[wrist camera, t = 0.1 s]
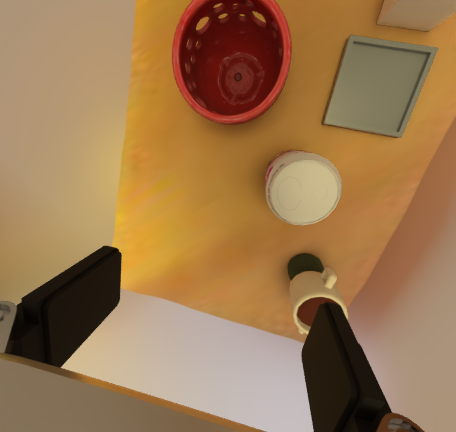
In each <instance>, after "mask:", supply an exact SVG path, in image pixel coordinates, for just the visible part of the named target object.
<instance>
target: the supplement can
mask: <svg viewBox="0 0 456 432" xmlns="http://www.w3.org/2000/svg"><path fill="white" fill-rule="evenodd" d="M341 190H342V181H341V178H340V175H339V172H338V170H337V169H336V167H335V166H334V165H333V164H332V163H331V162H330V160H328V159H326V158H324V157H322V156H320V155H318V154H314V153H310V152H305V151H300V150H287V151H283V152H281V153H279V154H278V155H276V156H275V157H274V158H273V159H272V160H271V162H270V163H269V164H268V167H267V170H266V200H267V202H268V205H269V207H270V209H271V211H272V212H273V213H274V214H275V215H276V216H277V217H278V218H279V219H281V220H283V221H285V222H287V223H289V224H294V225H301V226H303V225H309V224H314V223H316V222H318V221H320V220H322V219H324V218H326V217H327V216H328V215H329V214H330V213H331V212H332V211H333V210H334V209H335V208H336V206H337V204H338V201H339V199H340V197H341Z"/></svg>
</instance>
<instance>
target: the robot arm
mask: <svg viewBox="0 0 456 432" xmlns="http://www.w3.org/2000/svg"><path fill="white" fill-rule="evenodd" d="M121 256H122V255H121V253H120V252H119V250H118V249H117V248H114V247H110V246H103V247H102V248H100V249H98V250H97V251H95V252H94V253H92V254H90V255H89V256H87V257H86V258H84V259H83V260H81V261H79V262H78V263H76V264H75V265H73V266H72V267H70V268H69V269H67V270H65V271H64V272H62V273H61V274H59V275H58V276H56V277H54V278H53V279H51V280H50V281H48V282H46V283H45V284H43V285H42V286H40V287H38V288H37V289H35V290H34V291H32V292H31V293H29V294H28V295H26V296H24V297H23V298H22V302H21V303H20V304H18V305H17V306H16V305H15V304H14V303H12V302H9V301H0V432H265V431H262V430H259V429H256V428H253V427H249V426H247V425H243V424H240V423H237V422H234V421H231V420H228V419H225V418H221V417H218V416H215V415H212V414H209V413H205V412H202V411H199V410H196V409H193V408H189V407H186V406H183V405H180V404H177V403H173V402H170V401H167V400H164V399H160V398H157V397H154V396H151V395H147V394H144V393H141V392H137V391H135V390H132V389H128V388H125V387H122V386H118V385H115V384H112V383H109V382H105V381H102V380H99V379H95V378H92V377H88V376H85V375H82V374H79V373H76V372H72V371H69V370H66V369H62V368H60V367H61V366H62V365H63V364H64V363H65V362H66V361H67V360H68V359H69V358H70V357H71V356H72V354H73V353H74V352H75V351H76V350H77V349H78V348H79V347H80V346H81V345H82V343H83V342H84V341H85V340H86V339H87V338H88V337H89V336H90V335H91V334H92V333H93V331H94V330H95V329H96V328H97V327H98V326H99V325H100V324H101V323H102V321H104V319H105V318H106V317H107V316H108V315H109V314H110V313H111V312H112V311H113V309H115V307H116V306H117V305H118V303H119V300H120V282H121ZM302 363H303V369H304V375H305V381H306V387H307V393H308V399H309V404H310V411H311V417H312V422H313V429H314V432H424V431H423V430H422V429H421V428H420V427H419V426H418V425H417V424H415V423H414V422H412V421H411V420H410V419H408V418H407V417H404V416H402V415H400V414H397V413H392V411H391V409H390V407H389V405H388V403H387V401H386V399H385V396H384V394H383V392H382V390H381V388H380V386H379V384H378V381H377V380H376V377H375V375H374V373H373V371H372V369H371V367H370V364H369V362H368V360H367V358H366V356H365V354H364V352H363V349H362V347H361V346H360V344H359V343H358V342H357V340H356V338H355V335H354V333H353V331H352V329H351V327H350V325H349V323H348V320H347V318H346V316H345V314H344V312H343V309H342V307H341V306H340V305H339V304H335V303H331V302H327V301H326V302H325V303H324V304H320V305H319V307H318V310H317V312H316V315H315V317H314V320H313V323H312V325H311V328H310V330H309V333H308V336H307V338H306V341H305V343H304V346H303V349H302Z"/></svg>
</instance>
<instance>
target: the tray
mask: <svg viewBox="0 0 456 432" xmlns="http://www.w3.org/2000/svg"><path fill="white" fill-rule="evenodd" d="M437 50H438V48H436V47H430V46H423V45H416V44H409V43H403V42H396V41H389V40H382V39H376V38H369V37H362V36H356V35H350V36H349V37H348V39H347V40H346V43H345V47H344V50H343V54H342V57H341V60H340V64H339V67H338V70H337V74H336V77H335V81H334V84H333V87H332V91H331V94H330V97H329V101H328V104H327V108H326V111H325V114H324V118H323V121H322V124H325V125H330V126H335V127H341V128H346V129H352V130H357V131H362V132H368V133H373V134H379V135H384V136H389V137H395V138H400V137H402V135H403V133H404V131H405V128H406V126H407V123H408V121H409V118H410V116H411V113H412V111H413V109H414V106H415V104H416V101H417V99H418V96H419V94H420V92H421V89H422V87H423V84H424V82H425V79H426V77H427V74H428V72H429V70H430V67H431V65H432V62H433V60H434V57H435V55H436V52H437Z"/></svg>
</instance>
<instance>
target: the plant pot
mask: <svg viewBox="0 0 456 432" xmlns="http://www.w3.org/2000/svg"><path fill="white" fill-rule="evenodd" d="M250 1H251V2H250ZM219 3H222V5H221V6H219V7H216V8H213V7H214V6H215V5H216V4H219ZM233 4H237V5H233ZM252 11H254V12H258V13H259V14H262V16H263V17H264V19H265V21H266V23H265V22H262V21H260V20H259V19H258V18H256V17H255V16H254V14H253V13H252ZM224 13H226V14H228V15H227V16H226V17H225V18H221V19H220V18H218V17H219V15H221V14H224ZM239 14H244V15H245V16H240V15H239ZM204 17H209V20H208V22H207V23H206V24H205V26H204V27H203V28H201V29H200V30H196V26H197V23H198V22H199V21H200V19H202V18H204ZM188 39H189V41H188ZM197 41H198V44H197V46H196V42H197ZM187 42H188V45H187ZM186 46H187V47H186ZM291 53H292V44H291V35H290V30H289V27H288V23H287V20H286V18H285V16H284V14H283V12H282V10H281V8H280V7H279V5H278V4H277V2H276V1H275V0H192V2H191V3H190V4H189V5H188V7H187V8H186V10H185V11H184V13H183V15H182V16H181V18H180V21H179V23H178V25H177V28H176V32H175V36H174V41H173V48H172V64H173V72H174V76H175V80H176V83H177V86H178V88H179V90H180V92H181V94H182V96H183V97H184V99H185V100H186V102H187V103H188V104H189V105H190V106H191V107H192V108H193V109H194V110H195V111H196V112H197V113H199V114H200V115H201V116H203V117H205V118H207V119H209V120H212V121H215V122H218V123H221V124H230V125H231V124H241V123H245V122H248V121H251V120H253V119H255V118H257V117H259V116H261V115H262V114H263V113H264V112H266V111H267V110H268V109H269V108H270V107H271V106H272V105H273V103H274V102H275V101H276V99H277V98H278V96H279V95H280V93H281V91H282V89H283V87H284V85H285V82H286V79H287V76H288V72H289V68H290V63H291ZM191 55H192V60H191ZM185 63H186V67H185Z"/></svg>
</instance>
